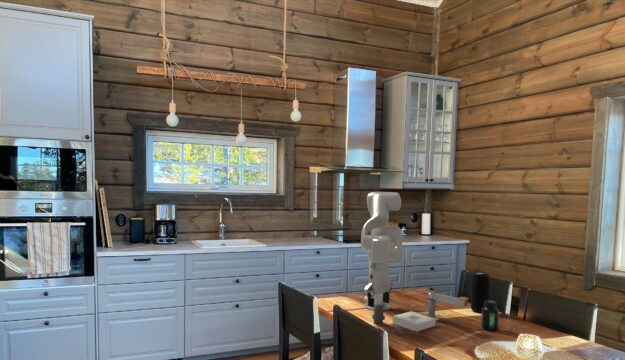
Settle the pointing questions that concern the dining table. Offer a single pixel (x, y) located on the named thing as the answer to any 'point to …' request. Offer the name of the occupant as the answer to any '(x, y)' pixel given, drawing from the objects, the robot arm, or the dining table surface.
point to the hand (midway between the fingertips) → (378, 304)
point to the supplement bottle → (490, 316)
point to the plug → (378, 314)
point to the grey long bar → (448, 299)
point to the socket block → (417, 319)
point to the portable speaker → (479, 290)
